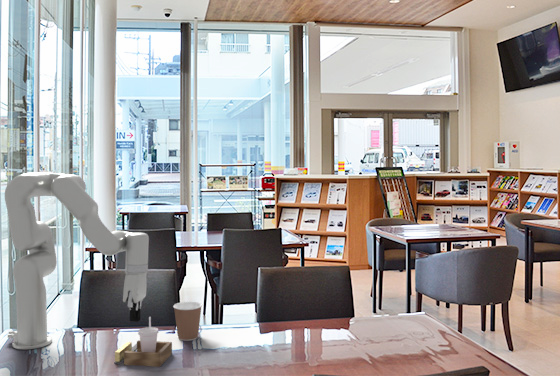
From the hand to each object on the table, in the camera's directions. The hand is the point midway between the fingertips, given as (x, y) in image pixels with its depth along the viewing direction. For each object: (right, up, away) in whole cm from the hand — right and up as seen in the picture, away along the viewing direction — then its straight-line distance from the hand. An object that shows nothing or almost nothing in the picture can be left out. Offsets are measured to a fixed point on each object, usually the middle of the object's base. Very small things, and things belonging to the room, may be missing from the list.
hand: (134, 320), depth 187 cm
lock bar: (-1, -9, -12) cm, 15 cm away
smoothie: (+8, -10, -13) cm, 18 cm away
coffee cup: (+17, -9, +9) cm, 21 cm away
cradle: (+7, -9, -8) cm, 14 cm away
